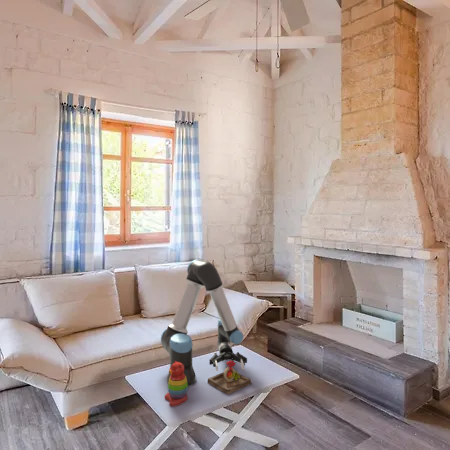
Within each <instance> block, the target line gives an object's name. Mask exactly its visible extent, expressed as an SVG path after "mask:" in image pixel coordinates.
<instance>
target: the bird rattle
mask: <svg viewBox="0 0 450 450" xmlns="http://www.w3.org/2000/svg"><path fill="white" fill-rule="evenodd" d="M235 365H236V362H235V361H232V360H229V361H226V366H227V367H226V368H225V369H224V371H223V372H224V379H225V380H226V381H227V383H229V382H230V381H232V380H233V378H234V379H235V380H237V379H238V378H240V376H239V375H238V374H239V372H238V371H236V370H235V368H234V366H235ZM229 370H230V371H229Z"/></svg>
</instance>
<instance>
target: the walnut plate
mask: <svg viewBox="0 0 450 450" xmlns="http://www.w3.org/2000/svg"><path fill="white" fill-rule="evenodd" d="M229 371H230V370H229ZM238 375H239V376H240V378H238V379H237V380H235V379H234V378H233V380H232V381H230V382H229V383H227V381H226V380H225V379H224V371H223V372H220V373H218V374H216V375H214V376H211V377H208V378H207V384H209V385H211V386H213V387H214V388H216V389H218V390H219V391H220V392H223V393H225V394H226V395H230V394H232V393H235V392H236V391H239V390H241V389H244V388H245V387H248V386H250V385H252V380H251V379H250V378H248V377H247V376H244V375H243V374H240V373H238Z"/></svg>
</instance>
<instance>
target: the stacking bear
mask: <svg viewBox="0 0 450 450" xmlns="http://www.w3.org/2000/svg"><path fill="white" fill-rule="evenodd" d="M168 373H170V374H171V375H170V378H169V382H168V383H167V390H168V392H167V393H165V395H164V399H165V400H167V401H168V402H169V404H168V405H169V406H170V407H177V405H178V406H180V405H183V404H184V403H186V401H187V400H188V395H187V393H188V389H189V388H188V387H189V386H188V383H187V378H186V376H185V374H184V365H183V364H182V363H180V362H177V361H175V362H174V363H173V364H172V365H171V367H169V369H168Z"/></svg>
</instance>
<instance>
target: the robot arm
mask: <svg viewBox="0 0 450 450" xmlns="http://www.w3.org/2000/svg"><path fill="white" fill-rule="evenodd" d="M186 268H187V269H186V270H187V276H186V279H185V280H186V287H184V288H185V289H184V291H183V294H182V296H181V299H180V301H179V304H178V306H177V310H176V312H175V314H174V317H173V320H172V322H171V323H169V324H168V325H167V328H166V329H164V331H163V332H162V334H161V335H160V336H161V337H160V342H161V346H162V348H163V349H164V350H165V351H166V352H167V353H168V354H169V363H170V364H169V365H170V367H171V365H172V364H173V363H174V362H175V361H177V362H180V363H182V364H183V365H184V374H185V376H186V378H187V383H188V387H189V386H192V385H193V384H195V383H196V380H197V377H196V371H195V369H194V366H193V345H194V344H193V340H192V339H193V338H192V337H191V336H190V335H188V329H187V327H188V325H189V322H190V320H191V317H192V314H193V311H194V309H195V306H196V303H197V301H198V298H199V295H200V293H201V290H202V289H203V288H205V290H206V291H207V292H208V293H209V295H210V297H211V300H212V302H213V305H214V307H215V310H216V312H217V316H218V317H219V319H218V320H217V347H218V353H217V352H214V354H213V356H212V357H210V358H209V365H212V366H213V367H214V368H215V371H216V372H217V371H218V364H219V363H220V362H224V361H228V360H229V361H230V360H231V361H234V362H237V363H239V364H240V367H241V370H244V368H245V365H246V364H247V363H248V357H247V356H244V355H242V354H241V353H240V352H239V351H238V352H236V353H234V352H233V348H232V344H234V345H240V344H241V343H242V342H243V341H244V334H243V332H242V331H241V330H239V327H238V324H237V322H236V320H235V317H234V315H233V311H232V310H231V307H230V304H229V302H228V299H227V297H226V294H225V292H224V289H223V282H222V279H221V277H220V276H221V275H220V274H219V272H218V270H217V267H216V266H215V265H214V264H213V263H211V262H209V261H206V260H204V259H198V258H197V259H194V260H191V262H189V263H188V265H187V267H186ZM231 343H232V344H231ZM170 367H169V368H170ZM170 375H171V374H170V373H169V372H168V374H167V377H166V383H167V384H168V382H169V378H170Z"/></svg>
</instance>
